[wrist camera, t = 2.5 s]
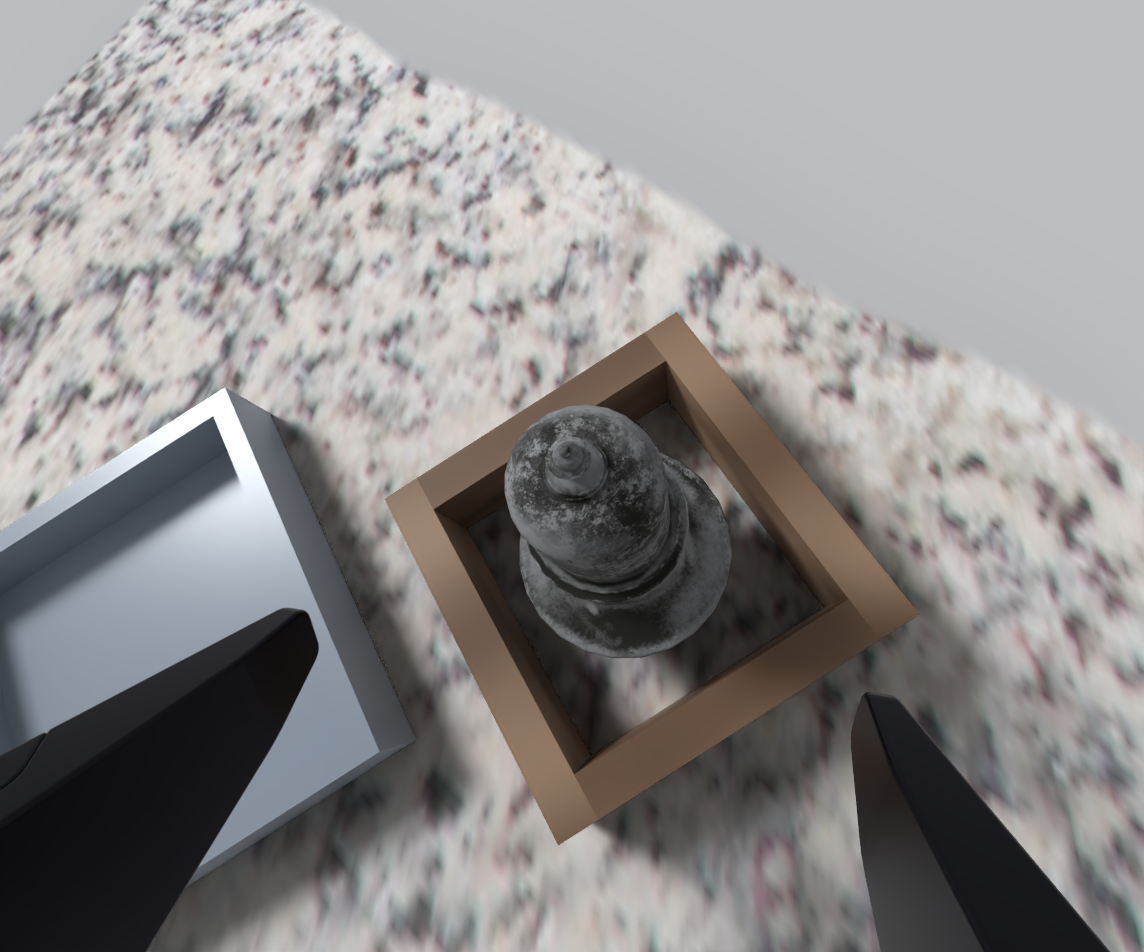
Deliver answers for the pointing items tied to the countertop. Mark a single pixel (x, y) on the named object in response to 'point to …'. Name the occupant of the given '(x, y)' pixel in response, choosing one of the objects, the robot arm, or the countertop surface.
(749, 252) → the countertop surface
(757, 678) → the socket block
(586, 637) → the salt shaker
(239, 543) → the tray
